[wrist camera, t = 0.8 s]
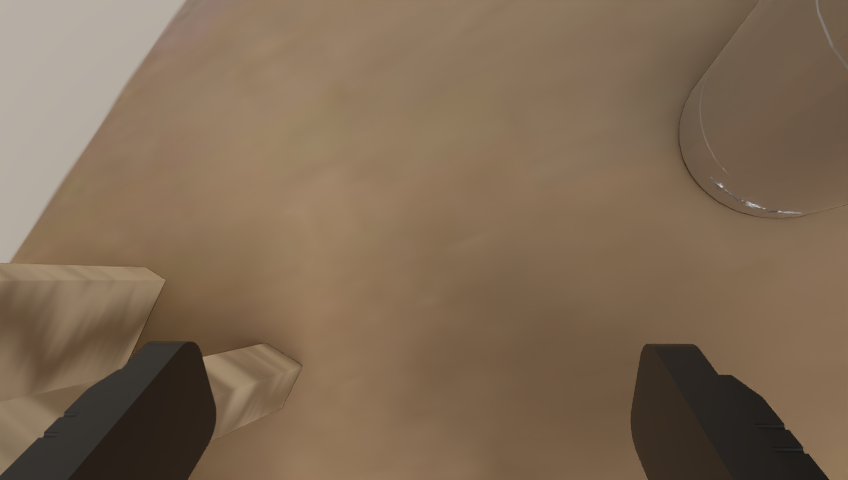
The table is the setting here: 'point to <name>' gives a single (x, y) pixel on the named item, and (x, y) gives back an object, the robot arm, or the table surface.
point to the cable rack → (103, 349)
